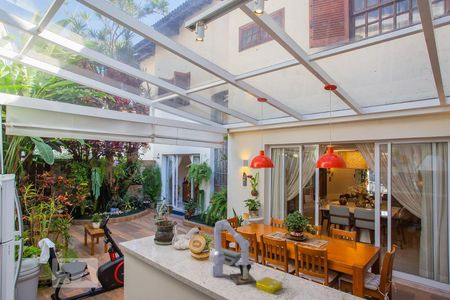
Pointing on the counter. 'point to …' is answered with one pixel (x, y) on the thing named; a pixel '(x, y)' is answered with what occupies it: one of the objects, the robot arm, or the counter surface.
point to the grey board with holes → (239, 280)
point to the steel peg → (245, 273)
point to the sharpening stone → (230, 257)
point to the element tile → (269, 285)
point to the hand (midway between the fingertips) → (244, 274)
